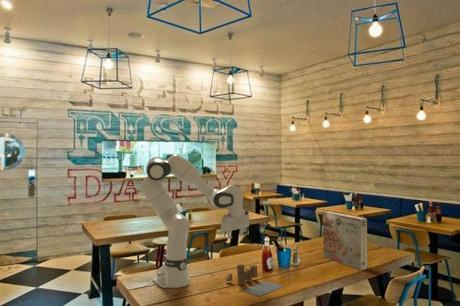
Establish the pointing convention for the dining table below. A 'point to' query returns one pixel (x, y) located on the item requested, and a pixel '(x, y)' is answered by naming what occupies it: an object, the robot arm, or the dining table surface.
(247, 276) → the wooden block set
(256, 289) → the mat
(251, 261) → the dining table surface
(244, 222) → the robot arm
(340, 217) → the pizza box
